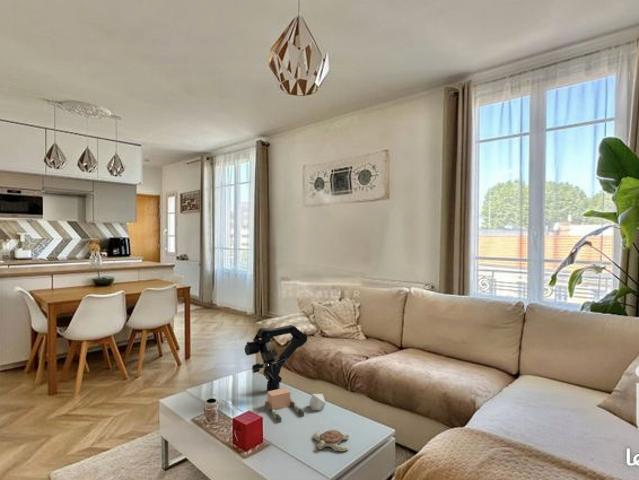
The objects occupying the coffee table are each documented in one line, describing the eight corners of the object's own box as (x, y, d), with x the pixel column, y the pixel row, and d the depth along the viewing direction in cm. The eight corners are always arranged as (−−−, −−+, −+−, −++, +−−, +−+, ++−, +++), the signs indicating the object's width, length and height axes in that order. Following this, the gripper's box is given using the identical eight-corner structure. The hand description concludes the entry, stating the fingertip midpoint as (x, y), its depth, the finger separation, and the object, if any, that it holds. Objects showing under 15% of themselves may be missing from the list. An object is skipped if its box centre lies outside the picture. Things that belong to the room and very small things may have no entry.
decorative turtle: (302, 443, 157) (302, 431, 157) (327, 428, 169) (328, 417, 169) (334, 461, 145) (334, 448, 145) (359, 443, 157) (360, 432, 157)
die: (319, 417, 180) (330, 399, 183) (304, 407, 181) (315, 389, 184) (319, 415, 188) (329, 398, 190) (305, 406, 189) (315, 388, 192)
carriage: (267, 405, 188) (267, 391, 188) (285, 401, 193) (285, 387, 193) (271, 410, 183) (271, 396, 183) (290, 405, 188) (290, 392, 188)
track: (264, 408, 187) (264, 401, 187) (287, 403, 194) (287, 396, 194) (279, 425, 171) (279, 418, 171) (304, 419, 177) (304, 411, 177)
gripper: (249, 351, 192) (258, 381, 185) (283, 340, 199) (293, 368, 192) (248, 358, 201) (257, 387, 194) (280, 348, 208) (290, 374, 201)
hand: (274, 379), depth 195 cm, fingers closed
